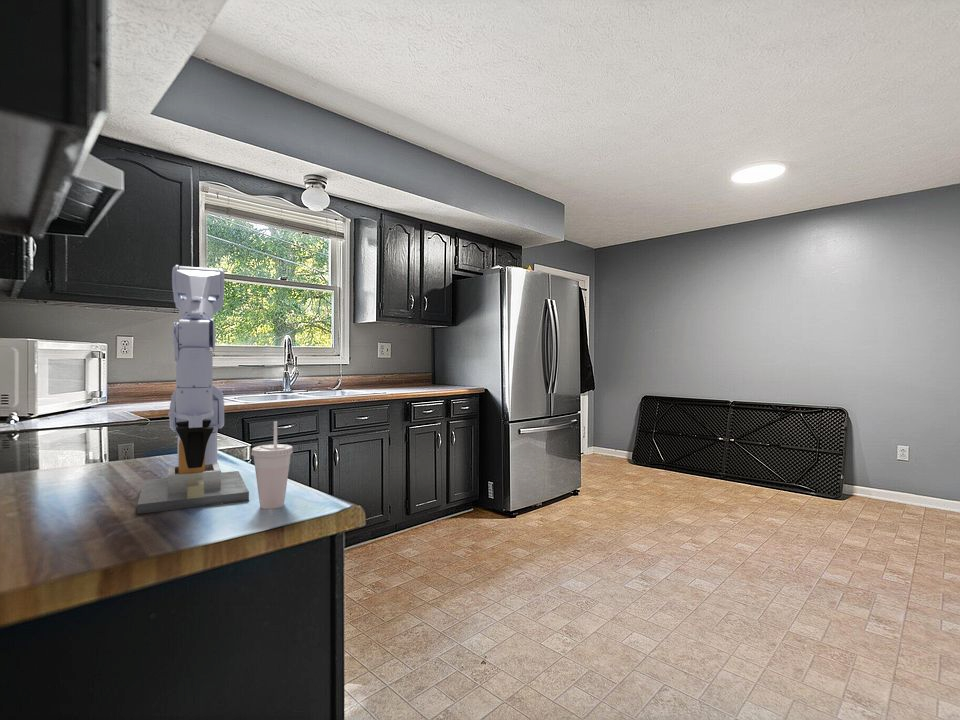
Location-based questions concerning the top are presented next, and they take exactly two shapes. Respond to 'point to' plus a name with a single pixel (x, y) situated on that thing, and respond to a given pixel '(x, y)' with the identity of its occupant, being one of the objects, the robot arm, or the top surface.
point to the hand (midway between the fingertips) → (194, 463)
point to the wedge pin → (183, 465)
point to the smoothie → (272, 472)
